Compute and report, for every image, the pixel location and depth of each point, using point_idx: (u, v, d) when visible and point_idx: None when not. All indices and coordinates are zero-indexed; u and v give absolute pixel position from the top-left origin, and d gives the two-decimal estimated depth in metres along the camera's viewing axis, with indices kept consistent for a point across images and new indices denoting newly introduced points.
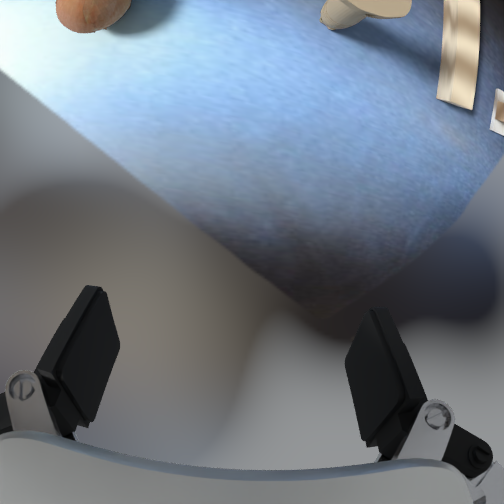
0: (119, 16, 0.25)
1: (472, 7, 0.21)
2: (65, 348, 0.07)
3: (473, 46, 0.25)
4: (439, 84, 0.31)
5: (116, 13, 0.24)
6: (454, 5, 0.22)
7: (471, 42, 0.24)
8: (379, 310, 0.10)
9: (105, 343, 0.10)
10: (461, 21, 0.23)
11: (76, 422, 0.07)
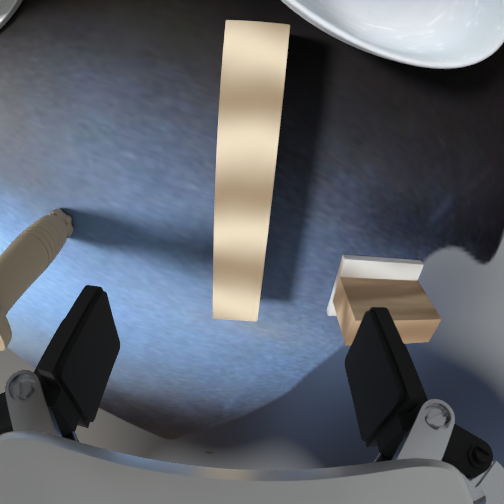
0: None
1: (255, 147, 0.20)
2: (65, 348, 0.07)
3: (253, 230, 0.23)
4: None
5: None
6: None
7: (248, 224, 0.23)
8: (379, 310, 0.10)
9: (105, 343, 0.10)
10: (223, 191, 0.21)
11: (76, 422, 0.07)
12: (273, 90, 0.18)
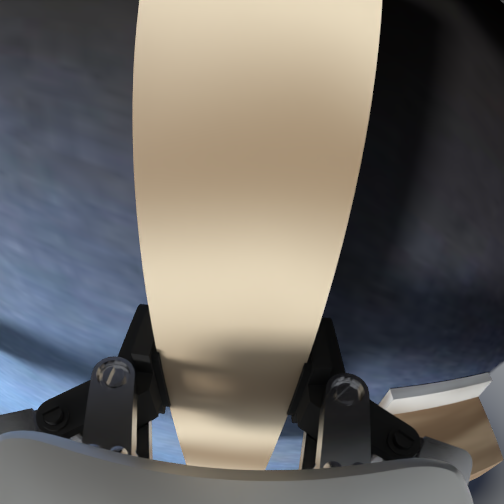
0: None
1: (261, 306, 0.07)
2: None
3: (252, 428, 0.10)
4: None
5: None
6: None
7: (242, 423, 0.10)
8: None
9: None
10: (182, 382, 0.08)
11: (159, 407, 0.08)
12: (332, 124, 0.05)
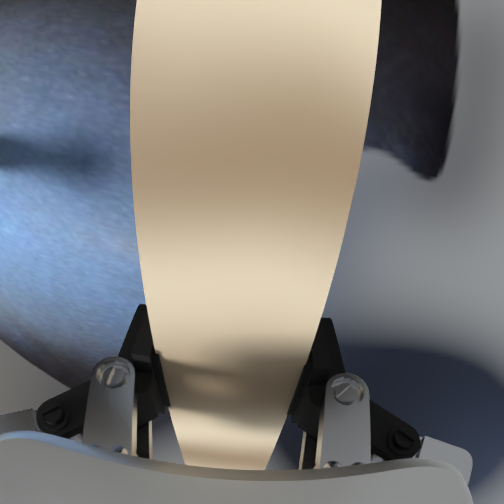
0: None
1: (259, 307, 0.07)
2: None
3: (252, 429, 0.10)
4: None
5: None
6: None
7: (241, 424, 0.10)
8: None
9: None
10: (181, 384, 0.08)
11: (159, 407, 0.08)
12: (331, 124, 0.05)
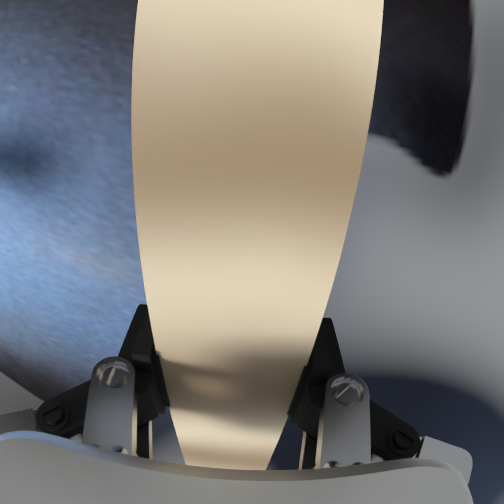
0: None
1: (261, 309, 0.07)
2: None
3: (252, 430, 0.10)
4: None
5: None
6: None
7: (242, 425, 0.10)
8: None
9: None
10: (182, 385, 0.08)
11: (159, 407, 0.08)
12: (333, 126, 0.05)
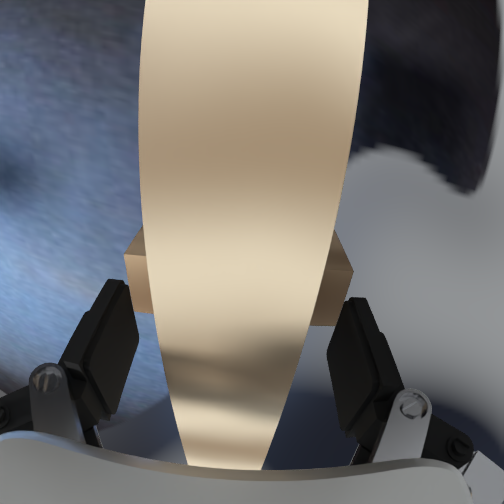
0: None
1: (257, 291, 0.07)
2: (91, 340, 0.08)
3: (251, 417, 0.10)
4: None
5: None
6: None
7: (241, 412, 0.10)
8: (357, 300, 0.10)
9: (127, 336, 0.10)
10: (182, 369, 0.09)
11: (99, 415, 0.08)
12: (322, 117, 0.05)
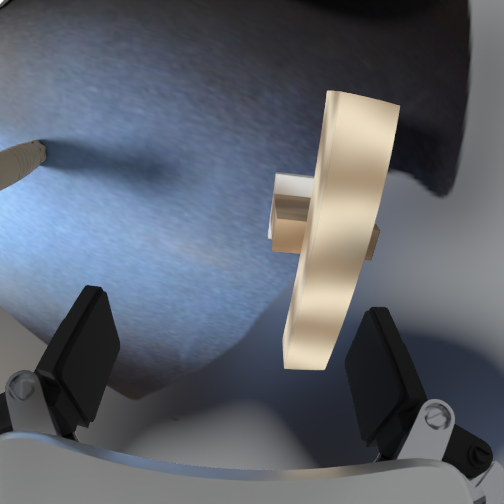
0: None
1: (354, 225, 0.20)
2: (65, 348, 0.07)
3: (339, 296, 0.24)
4: (286, 329, 0.30)
5: None
6: (314, 226, 0.22)
7: (335, 291, 0.23)
8: (379, 310, 0.10)
9: (105, 343, 0.10)
10: (318, 263, 0.22)
11: (76, 422, 0.07)
12: (378, 171, 0.18)
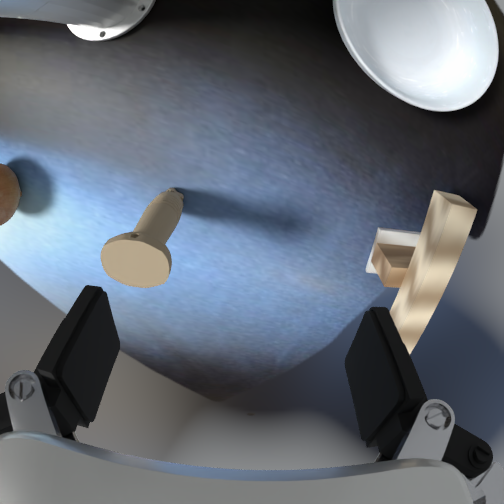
0: (13, 212, 0.35)
1: (442, 275, 0.31)
2: (65, 348, 0.07)
3: (426, 314, 0.34)
4: None
5: (9, 214, 0.33)
6: (420, 275, 0.32)
7: (424, 312, 0.34)
8: (379, 310, 0.10)
9: (105, 343, 0.10)
10: (420, 297, 0.33)
11: (76, 422, 0.07)
12: (460, 246, 0.29)
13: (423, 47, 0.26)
